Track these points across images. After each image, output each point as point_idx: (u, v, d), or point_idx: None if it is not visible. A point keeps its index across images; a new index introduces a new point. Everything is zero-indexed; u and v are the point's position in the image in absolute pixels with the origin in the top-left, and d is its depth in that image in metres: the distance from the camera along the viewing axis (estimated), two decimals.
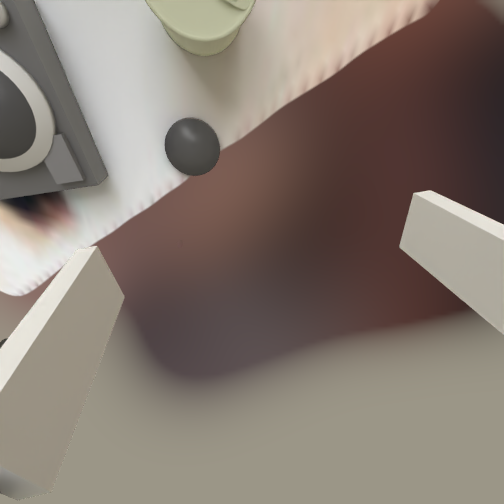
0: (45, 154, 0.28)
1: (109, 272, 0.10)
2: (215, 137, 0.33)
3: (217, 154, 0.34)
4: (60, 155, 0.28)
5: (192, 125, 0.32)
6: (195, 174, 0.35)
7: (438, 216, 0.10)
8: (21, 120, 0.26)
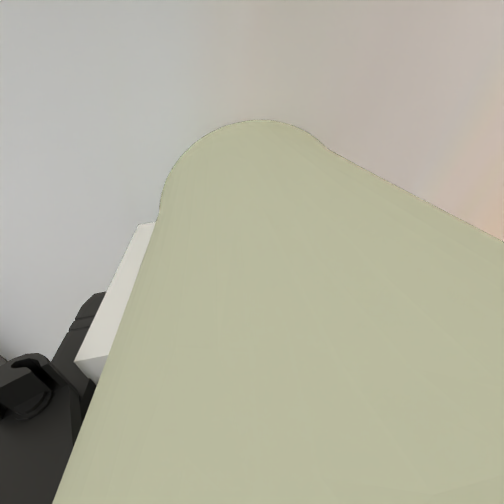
0: None
1: None
2: None
3: None
4: None
5: None
6: None
7: None
8: None
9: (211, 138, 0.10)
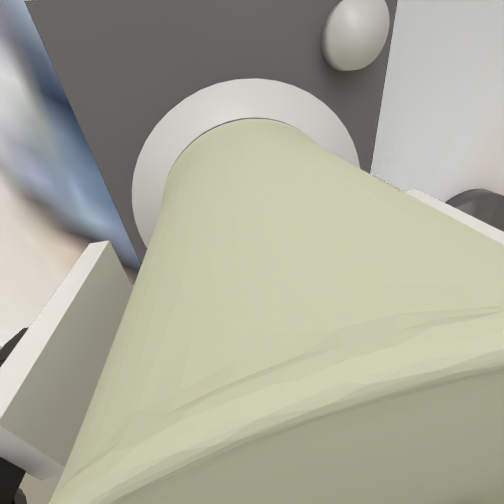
0: None
1: (120, 266, 0.10)
2: None
3: None
4: None
5: (481, 204, 0.20)
6: None
7: None
8: None
9: (210, 135, 0.10)
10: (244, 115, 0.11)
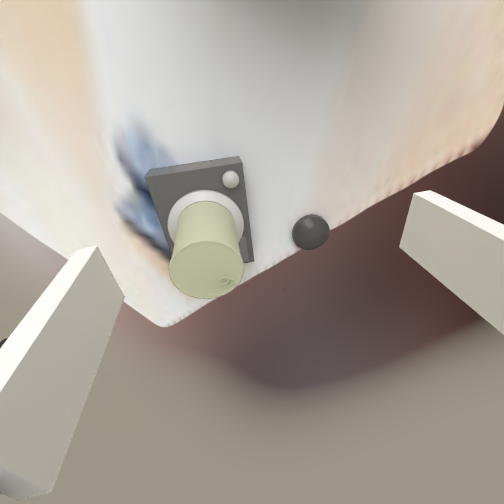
0: None
1: (109, 272, 0.10)
2: (316, 218, 0.47)
3: (325, 223, 0.48)
4: (240, 247, 0.44)
5: (301, 226, 0.48)
6: (323, 242, 0.50)
7: (438, 216, 0.10)
8: None
9: (191, 207, 0.38)
10: (201, 200, 0.38)
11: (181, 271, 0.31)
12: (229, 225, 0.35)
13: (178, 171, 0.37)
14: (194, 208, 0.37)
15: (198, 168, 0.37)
